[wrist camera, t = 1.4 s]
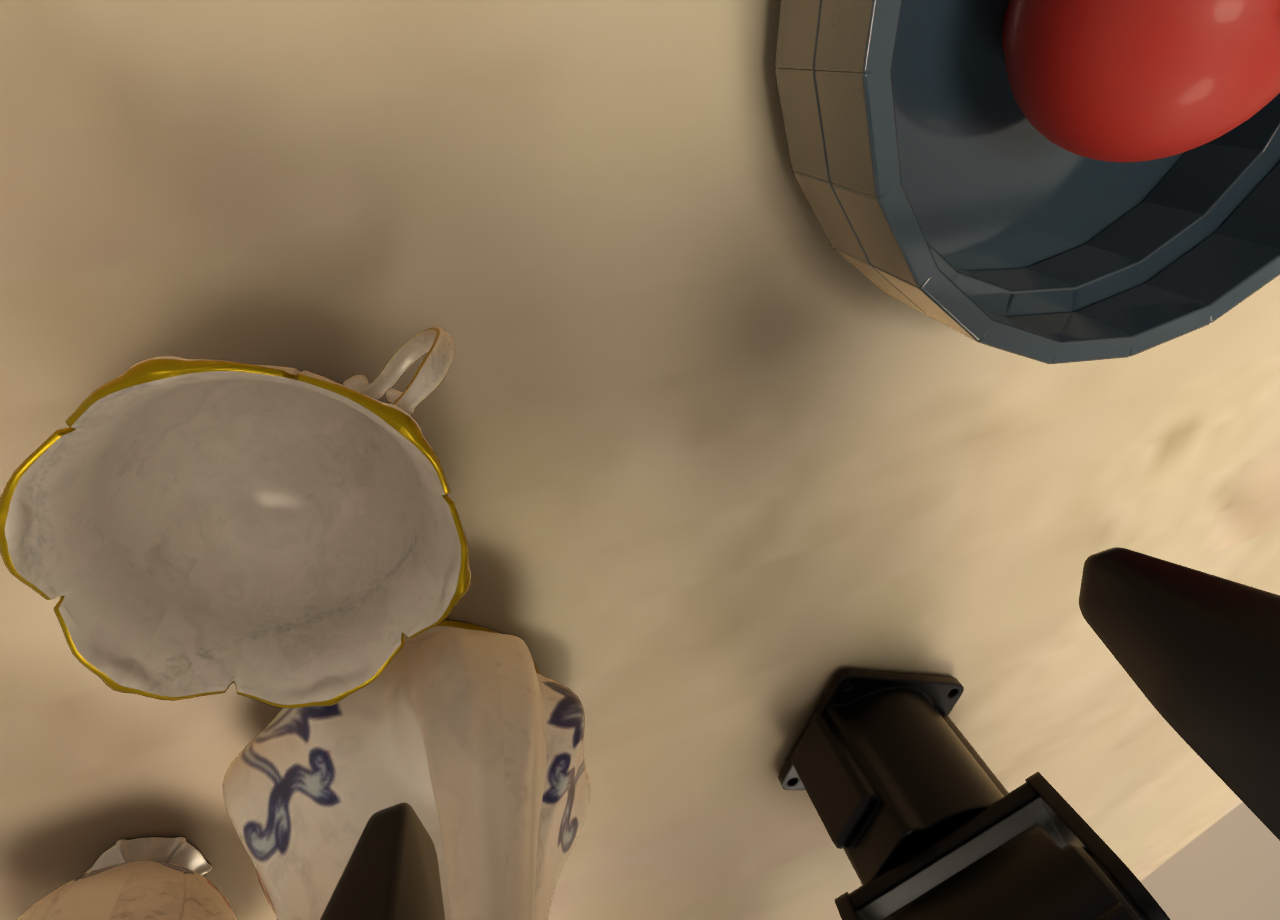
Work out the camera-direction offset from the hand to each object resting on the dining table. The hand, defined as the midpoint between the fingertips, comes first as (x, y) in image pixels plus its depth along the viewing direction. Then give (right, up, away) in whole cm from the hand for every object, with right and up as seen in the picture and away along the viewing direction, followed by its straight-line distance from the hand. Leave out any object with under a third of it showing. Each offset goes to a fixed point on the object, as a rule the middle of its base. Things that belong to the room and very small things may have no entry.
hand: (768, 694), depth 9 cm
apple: (+9, +14, +10) cm, 19 cm away
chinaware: (-12, -5, +15) cm, 20 cm away
